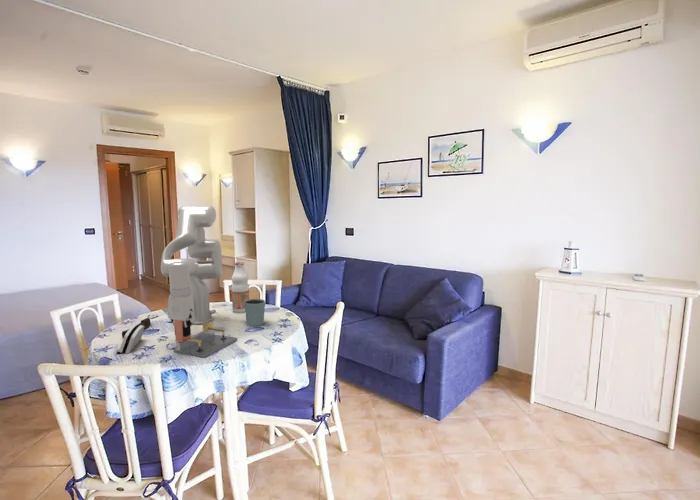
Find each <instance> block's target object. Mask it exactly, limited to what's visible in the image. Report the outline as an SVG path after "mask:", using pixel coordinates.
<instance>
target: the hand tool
mask: <svg viewBox="0 0 700 500" xmlns="http://www.w3.org/2000/svg"><path fill="white" fill-rule="evenodd" d="M138 324H139V325H143V326H145V327H144V330H147V329H148V328H150V327H151V318H150V317H145V318H144V319H141V320H140V322H139V323H138ZM129 329H130V328H128V329H126V330H122V332H121V337H122V339H124V336H125V334H126V333H127V331H128V330H129Z"/></svg>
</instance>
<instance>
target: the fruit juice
mask: <svg viewBox="0 0 700 500" xmlns="http://www.w3.org/2000/svg"><path fill="white" fill-rule="evenodd" d="M244 265H245V262H244V261H236V262H235V263H234V266H235V267H234V271H233V272H232V273H233V274H232V275H231V282H232V285H231V304H232V312H233V313H235V314H244V313H245V304H244V302H245V301H246V300H250V287H249V283H248V282H249V276H248V274H247V272H246V270H245V267H244ZM243 312H244V313H243Z"/></svg>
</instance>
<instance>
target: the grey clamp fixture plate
mask: <svg viewBox="0 0 700 500" xmlns="http://www.w3.org/2000/svg"><path fill="white" fill-rule="evenodd" d="M215 331H216V332H222V335H220V334H216V332H215ZM225 332H226V329H225V328H218V327H214V324H213V322H207V323H204V324H202V331H201V332H197V333H196V334H192V335H191V339H196V340H201V343H200V344H201V350H199V347H198V342H192V341H185V342H178V341H176V343H175V345H176V346H175V348H174V349H173V353H176V354H183V355H186V356H187V355H188V356H192V357H198V358H202V359H203V358H204V359H206V358H207V357H208V356H209V357H210V356H211V355H213V354H214V353H217V352H218V351H220V350H223V349H224V348H226V347H227V346H230V345H231V344H233V343H235V342H237V341H238V337H233V336H225Z"/></svg>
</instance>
